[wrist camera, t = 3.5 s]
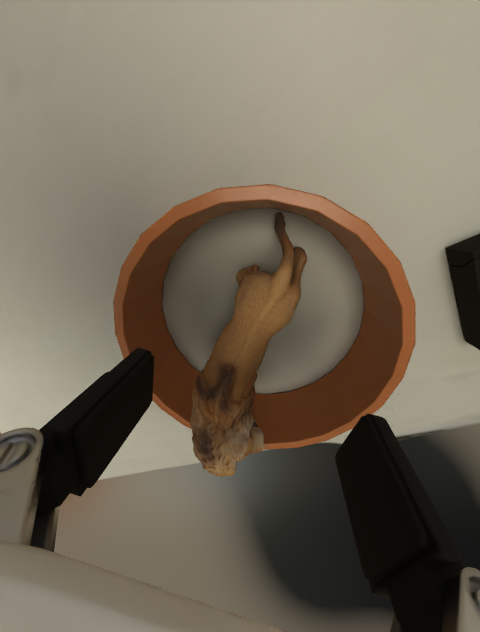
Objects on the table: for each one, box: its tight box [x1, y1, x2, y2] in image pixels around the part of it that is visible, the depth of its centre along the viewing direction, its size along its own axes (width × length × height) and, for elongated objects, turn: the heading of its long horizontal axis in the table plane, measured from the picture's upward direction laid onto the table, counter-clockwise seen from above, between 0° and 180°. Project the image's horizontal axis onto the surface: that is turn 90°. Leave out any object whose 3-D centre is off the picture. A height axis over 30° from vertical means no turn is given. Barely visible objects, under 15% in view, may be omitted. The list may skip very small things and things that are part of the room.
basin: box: [113, 184, 415, 449], centre depth 15 cm, size 17×17×5 cm
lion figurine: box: [190, 212, 307, 477], centre depth 13 cm, size 15×5×9 cm, turn 169°
